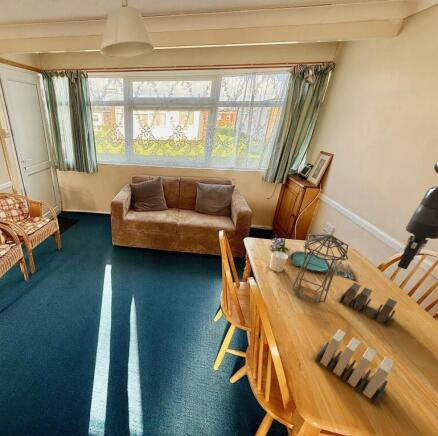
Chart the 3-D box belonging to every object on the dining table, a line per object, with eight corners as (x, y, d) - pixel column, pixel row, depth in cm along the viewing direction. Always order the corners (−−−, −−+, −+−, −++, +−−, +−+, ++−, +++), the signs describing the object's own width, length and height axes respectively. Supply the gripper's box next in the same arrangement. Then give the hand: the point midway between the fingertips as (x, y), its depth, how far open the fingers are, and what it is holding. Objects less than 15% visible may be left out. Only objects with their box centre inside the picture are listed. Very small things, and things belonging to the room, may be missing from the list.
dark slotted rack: (382, 391, 74) (402, 364, 68) (374, 407, 70) (395, 380, 64) (322, 350, 87) (335, 324, 81) (312, 361, 83) (325, 335, 77)
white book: (346, 366, 80) (360, 341, 75) (339, 376, 77) (354, 351, 72) (339, 361, 82) (353, 337, 76) (332, 371, 79) (346, 346, 73)
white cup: (265, 266, 134) (269, 251, 130) (277, 264, 136) (281, 250, 132) (274, 274, 127) (278, 259, 123) (286, 272, 129) (291, 258, 124)
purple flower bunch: (270, 256, 153) (269, 238, 155) (289, 257, 148) (288, 239, 151) (270, 255, 143) (270, 236, 145) (291, 256, 138) (290, 236, 141)
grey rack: (391, 319, 100) (402, 302, 95) (386, 328, 96) (397, 311, 91) (343, 296, 113) (351, 280, 108) (337, 303, 108) (345, 286, 104)
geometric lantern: (326, 295, 113) (353, 233, 98) (324, 315, 102) (353, 249, 87) (290, 281, 122) (310, 223, 107) (284, 298, 111) (305, 236, 96)
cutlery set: (290, 250, 149) (291, 248, 148) (348, 265, 135) (350, 262, 134) (289, 266, 134) (290, 263, 133) (354, 285, 119) (356, 281, 118)
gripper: (444, 231, 64) (416, 277, 71) (451, 218, 71) (424, 261, 78) (406, 221, 70) (384, 265, 77) (416, 211, 77) (394, 251, 84)
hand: (404, 263), depth 77 cm, fingers open, 8 cm apart
